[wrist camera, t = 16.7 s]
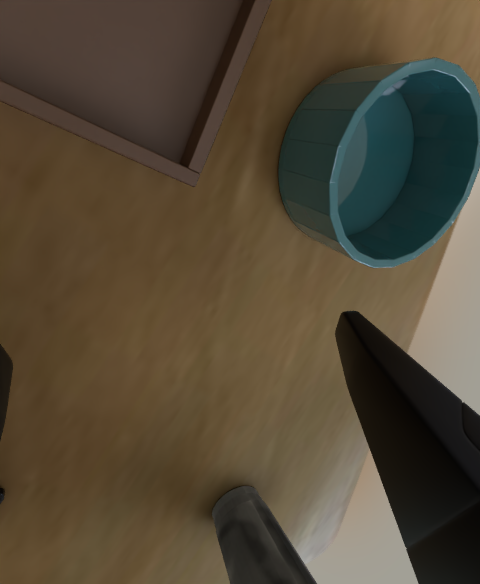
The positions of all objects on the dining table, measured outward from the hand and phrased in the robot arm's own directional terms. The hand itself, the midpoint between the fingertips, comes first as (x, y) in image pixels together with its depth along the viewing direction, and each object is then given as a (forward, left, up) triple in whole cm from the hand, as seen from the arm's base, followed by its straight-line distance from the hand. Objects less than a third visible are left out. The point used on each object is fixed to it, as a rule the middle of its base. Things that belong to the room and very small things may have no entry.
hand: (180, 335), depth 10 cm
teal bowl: (+8, +12, -11) cm, 18 cm away
